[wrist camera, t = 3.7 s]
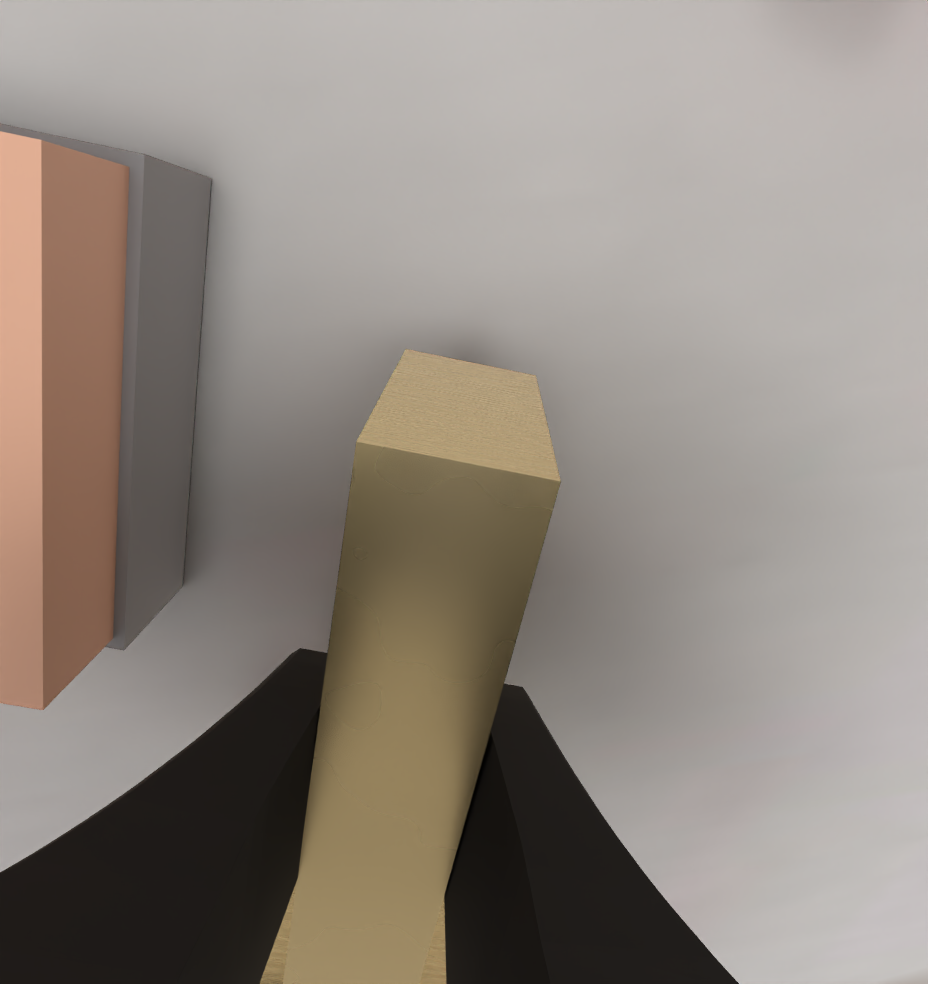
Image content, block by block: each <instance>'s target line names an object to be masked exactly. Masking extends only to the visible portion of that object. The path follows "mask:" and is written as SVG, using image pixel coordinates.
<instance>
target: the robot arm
mask: <svg viewBox="0 0 928 984" xmlns="http://www.w3.org/2000/svg"><path fill="white" fill-rule="evenodd" d="M327 654H328V653H324V652H318V651H312V650H307V649H301V648H300V649H298V650H297V651H295V652H294V653H292V654H291V655H290V656H289V657H288V658H287V659H286V660H285V661H284V662H283V663H282V664H281V665H280V666H279V667H278V668H277V669H276V670H275V671H273V672H272V673H271V674H270V675H269V676H268V677H267V678H266V679H265V680H264V681H263V682H262V683H261V684H260V685H259V686H258V687H257V688H255V689H254V690H253V691H252V692H251V693H250V694H249V695H248V696H247V697H245V698H244V699H243V700H242V701H241V702H240V703H239V704H238V705H237V706H235V707H234V708H233V709H232V710H231V711H229V712H228V713H227V714H226V715H225V716H224V717H222V718H221V719H220V720H219V721H218V722H216V723H215V724H214V725H213V726H212V727H211V728H209V729H208V730H207V731H206V732H205V733H203V734H202V735H201V736H200V737H199V738H197V739H196V740H195V741H194V742H192V743H191V744H190V745H189V746H187V747H186V748H185V749H183V750H182V751H181V752H179V753H178V754H177V755H175V756H174V757H173V758H171V759H170V760H169V761H167V762H166V763H165V764H164V765H162V766H161V767H160V768H158V769H157V770H156V771H154V772H153V773H152V774H150V775H149V776H148V777H146V778H145V779H144V780H142V781H141V782H140V783H138V784H137V785H136V786H134V787H133V788H131V789H130V790H129V791H127V792H126V793H124V794H123V795H122V796H120V797H119V798H117V799H116V800H114V801H113V802H111V803H110V804H109V805H107V806H106V807H104V808H103V809H101V810H100V811H98V812H97V813H95V814H94V815H92V816H91V817H89V818H88V819H86V820H85V821H83V822H82V823H80V824H79V825H77V826H76V827H74V828H72V829H71V830H69V831H68V832H66V833H65V834H63V835H61V836H60V837H58V838H57V839H55V840H54V841H52V842H51V843H49V844H47V845H46V846H44V847H43V848H41V849H39V850H38V851H36V852H35V853H33V854H31V855H29V856H28V857H26V858H24V859H23V860H21V861H19V862H18V863H16V864H14V865H12V866H11V867H9V868H7V869H6V870H4V871H2V872H0V984H260V981H261V978H262V975H263V973H264V970H265V967H266V964H267V962H268V959H269V956H270V953H271V951H272V948H273V945H274V942H275V940H276V937H277V934H278V931H279V929H280V926H281V923H282V920H283V918H284V915H285V912H286V909H287V907H288V904H289V901H290V898H291V896H292V893H293V890H294V887H295V885H296V882H297V879H298V873H299V865H300V856H301V848H302V839H303V831H304V824H305V816H306V809H307V802H308V794H309V787H310V780H311V772H312V765H313V758H314V750H315V743H316V735H317V728H318V721H319V713H320V706H321V699H322V691H323V684H324V676H325V669H326V662H327ZM444 910H445V951H446V984H739V983H738V982H737V981H736V980H735V979H734V978H733V977H732V976H731V975H730V974H729V972H728V971H727V970H726V969H725V968H724V967H723V966H722V965H721V964H720V963H719V962H718V960H717V959H716V958H715V957H714V956H713V955H712V954H711V952H710V951H709V950H708V949H707V948H706V947H705V945H704V944H703V943H702V942H701V941H700V940H699V938H698V937H697V936H696V935H695V934H694V933H693V931H692V930H691V929H690V928H689V927H688V926H687V924H686V923H685V922H684V921H683V920H682V919H681V917H680V916H679V915H678V914H677V913H676V912H675V910H674V909H673V908H672V907H671V906H670V905H669V903H668V902H667V901H666V900H665V898H664V897H663V896H662V895H661V893H660V892H659V891H658V890H657V889H656V887H655V886H654V885H653V884H652V882H651V881H650V880H649V879H648V877H647V876H646V875H645V873H644V872H643V871H642V869H641V868H640V867H639V865H638V864H637V863H636V861H635V860H634V859H633V857H632V856H631V855H630V853H629V852H628V851H627V849H626V848H625V847H624V845H623V844H622V843H621V841H620V840H619V838H618V837H617V836H616V834H615V833H614V831H613V830H612V829H611V827H610V826H609V824H608V823H607V821H606V820H605V819H604V817H603V816H602V814H601V813H600V811H599V810H598V808H597V807H596V805H595V804H594V802H593V801H592V799H591V797H590V796H589V794H588V793H587V791H586V790H585V788H584V787H583V785H582V784H581V782H580V781H579V779H578V778H577V776H576V775H575V773H574V771H573V770H572V768H571V767H570V765H569V763H568V762H567V760H566V759H565V757H564V755H563V754H562V752H561V750H560V749H559V747H558V745H557V744H556V742H555V740H554V739H553V737H552V735H551V734H550V732H549V730H548V729H547V727H546V725H545V724H544V722H543V720H542V718H541V717H540V715H539V713H538V711H537V710H536V708H535V706H534V705H533V703H532V701H531V699H530V698H529V696H528V695H527V693H526V691H525V690H524V688H523V687H519V686H514V685H508V684H504V685H503V688H502V692H501V696H500V699H499V703H498V706H497V710H496V713H495V717H494V720H493V724H492V727H491V731H490V735H489V738H488V742H487V745H486V749H485V752H484V756H483V759H482V763H481V767H480V770H479V774H478V777H477V781H476V784H475V788H474V791H473V795H472V798H471V802H470V806H469V809H468V813H467V816H466V820H465V823H464V827H463V830H462V834H461V838H460V841H459V845H458V848H457V852H456V855H455V859H454V862H453V866H452V869H451V873H450V877H449V880H448V884H447V887H446V891H445V894H444Z"/></svg>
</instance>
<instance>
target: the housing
mask: <svg viewBox="0 0 928 984" xmlns="http://www.w3.org/2000/svg"><path fill="white" fill-rule="evenodd" d="M0 131H1V132H6V133H11V134H16V135H20V136H25V137H30V138H35V139H39V140H43V141H46V142H50V143H53V144H56V145H59V146H63V147H66V148H69V149H73V150H76V151H79V152H82V153H86V154H89V155H92V156H95V157H99V158H102V159H105V160H108V161H112V162H115V163H118V164H121V165H125V166H128V167H129V193H128V222H127V250H126V279H125V308H124V336H123V365H122V394H121V422H120V451H119V480H118V508H117V537H116V566H115V594H114V623H113V639H112V640H111V641H110V642H109V643H108V644H107V645H106V646H105V647H108V648H114V649H120V650H125V649H126V648H127V647H128V645H129V644H130V643H131V642H132V641H133V640H134V639H135V638H136V637H137V636H138V635H139V633H140V632H141V631H142V630H143V629H144V628H145V627H146V626H147V625H148V624H149V623H150V621H151V620H152V619H153V618H154V617H155V616H156V615H157V614H158V613H159V612H160V610H161V609H162V608H163V607H164V606H165V605H166V604H167V603H168V602H169V601H170V600H171V598H172V597H173V596H174V595H175V594H176V593H177V592H178V591H179V590H180V589H181V588H182V586H183V574H184V560H185V546H186V532H187V517H188V503H189V489H190V475H191V461H192V447H193V432H194V418H195V404H196V390H197V376H198V362H199V347H200V333H201V319H202V305H203V291H204V277H205V262H206V248H207V234H208V220H209V206H210V192H211V178H209V177H206V176H203V175H201V174H198V173H195V172H192V171H190V170H187V169H184V168H181V167H178V166H176V165H173V164H170V163H167V162H164V161H162V160H159V159H156V158H153V157H151V156H148V155H145V154H141V153H136V152H131V151H126V150H122V149H117V148H112V147H108V146H103V145H98V144H93V143H89V142H84V141H79V140H75V139H70V138H65V137H60V136H56V135H51V134H46V133H42V132H37V131H32V130H27V129H23V128H18V127H13V126H9V125H4V124H0Z"/></svg>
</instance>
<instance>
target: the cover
mask: <svg viewBox="0 0 928 984" xmlns="http://www.w3.org/2000/svg"><path fill="white" fill-rule="evenodd" d="M128 193H129V167H128V166H125V165H121V164H118V163H115V162H112V161H108V160H105V159H102V158H99V157H95V156H92V155H89V154H86V153H82V152H79V151H76V150H73V149H69V148H66V147H63V146H59V145H56V144H53V143H50V142H46V141H43V140H39V139H35V138H30V137H25V136H20V135H16V134H11V133H6V132H1V131H0V703H3V704H9V705H15V706H21V707H27V708H33V709H39V710H44V709H45V708H46V707H47V706H48V705H49V703H50V702H51V701H52V700H53V699H54V698H55V697H56V696H57V695H58V694H59V693H60V692H61V691H62V690H63V689H64V688H65V687H66V686H67V685H68V684H69V683H70V682H71V681H72V680H73V679H74V678H75V677H76V676H77V675H78V674H79V673H80V672H81V671H82V670H83V669H84V668H85V667H86V666H87V665H88V664H89V662H90V661H91V660H92V659H93V658H94V657H95V656H96V655H97V654H98V653H99V652H100V651H101V650H102V649H103V648H104V647H105V646H106V645H107V644H108V643H109V642H110V641H111V640H112V639H113V623H114V594H115V566H116V537H117V508H118V480H119V451H120V422H121V394H122V365H123V336H124V308H125V279H126V250H127V222H128Z"/></svg>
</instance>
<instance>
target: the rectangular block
mask: <svg viewBox="0 0 928 984" xmlns="http://www.w3.org/2000/svg"><path fill="white" fill-rule="evenodd" d="M560 483H561V480H560V476H559V472H558V468H557V463H556V459H555V455H554V451H553V446H552V442H551V438H550V434H549V429H548V425H547V421H546V417H545V412H544V408H543V404H542V400H541V395H540V391H539V387H538V383H537V378H536V375H531V374H526V373H521V372H516V371H511V370H506V369H502V368H497V367H492V366H487V365H482V364H477V363H472V362H467V361H462V360H457V359H452V358H447V357H442V356H438V355H433V354H428V353H423V352H418V351H413V350H408V349H405V351H404V353H403V355H402V357H401V359H400V361H399V362H398V364H397V366H396V368H395V370H394V372H393V374H392V376H391V377H390V379H389V381H388V383H387V385H386V387H385V389H384V391H383V393H382V394H381V396H380V398H379V400H378V402H377V404H376V406H375V408H374V409H373V411H372V413H371V415H370V417H369V419H368V421H367V423H366V424H365V426H364V428H363V430H362V432H361V434H360V436H359V438H358V439H357V441H356V448H355V455H354V463H353V470H352V478H351V485H350V492H349V500H348V507H347V514H346V522H345V529H344V536H343V544H342V551H341V559H340V566H339V573H338V581H337V588H336V595H335V603H334V610H333V618H332V625H331V632H330V640H329V647H328V654H327V662H326V669H325V676H324V684H323V691H322V699H321V706H320V713H319V721H318V728H317V735H316V743H315V750H314V758H313V765H312V772H311V780H310V787H309V794H308V802H307V809H306V816H305V824H304V831H303V839H302V848H301V856H300V865H299V873H298V879H297V882H296V885H295V887H294V890H293V893H292V896H291V898H290V901H289V904H288V907H287V909H286V912H285V915H284V918H283V920H282V923H281V926H280V929H279V931H278V934H277V937H276V940H275V942H274V945H273V948H272V951H271V953H270V956H269V959H268V962H267V964H266V967H265V970H264V973H263V975H262V978H261V981H260V984H446V951H445V910H444V894H445V891H446V887H447V884H448V880H449V877H450V873H451V869H452V866H453V862H454V859H455V855H456V852H457V848H458V845H459V841H460V838H461V834H462V830H463V827H464V823H465V820H466V816H467V813H468V809H469V806H470V802H471V798H472V795H473V791H474V788H475V784H476V781H477V777H478V774H479V770H480V767H481V763H482V759H483V756H484V752H485V749H486V745H487V742H488V738H489V735H490V731H491V727H492V724H493V720H494V717H495V713H496V710H497V706H498V703H499V699H500V696H501V692H502V688H503V685H504V681H505V678H506V674H507V671H508V667H509V664H510V660H511V657H512V653H513V649H514V646H515V642H516V639H517V635H518V632H519V628H520V625H521V621H522V617H523V614H524V610H525V607H526V603H527V600H528V596H529V593H530V589H531V586H532V582H533V578H534V575H535V571H536V568H537V564H538V561H539V557H540V554H541V550H542V546H543V543H544V539H545V536H546V532H547V529H548V525H549V522H550V518H551V515H552V511H553V507H554V504H555V500H556V497H557V493H558V490H559V486H560Z"/></svg>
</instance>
